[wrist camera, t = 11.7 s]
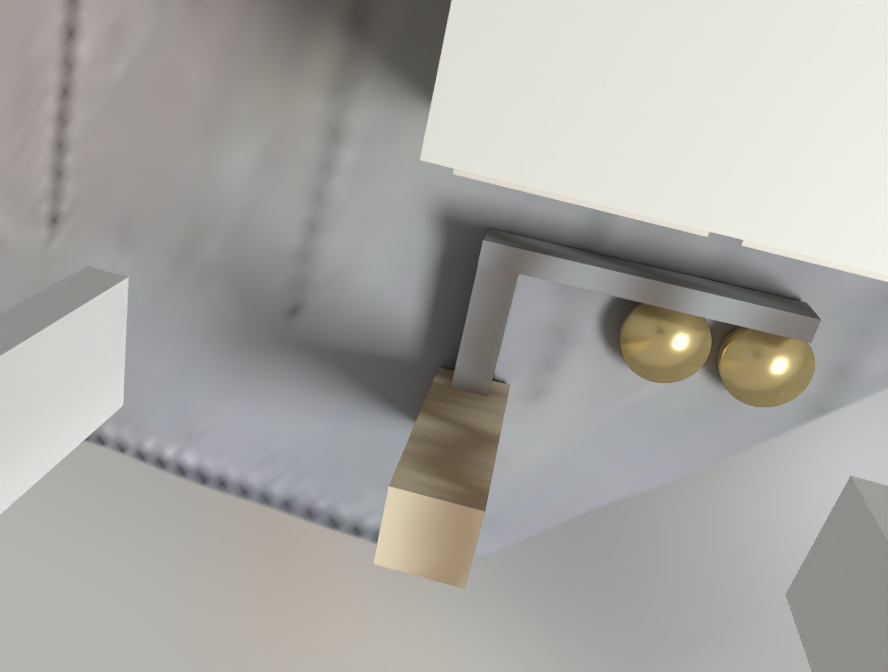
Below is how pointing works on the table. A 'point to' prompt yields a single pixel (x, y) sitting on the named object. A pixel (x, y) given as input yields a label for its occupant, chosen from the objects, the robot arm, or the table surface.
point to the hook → (484, 401)
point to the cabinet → (680, 115)
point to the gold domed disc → (764, 367)
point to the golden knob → (664, 343)
